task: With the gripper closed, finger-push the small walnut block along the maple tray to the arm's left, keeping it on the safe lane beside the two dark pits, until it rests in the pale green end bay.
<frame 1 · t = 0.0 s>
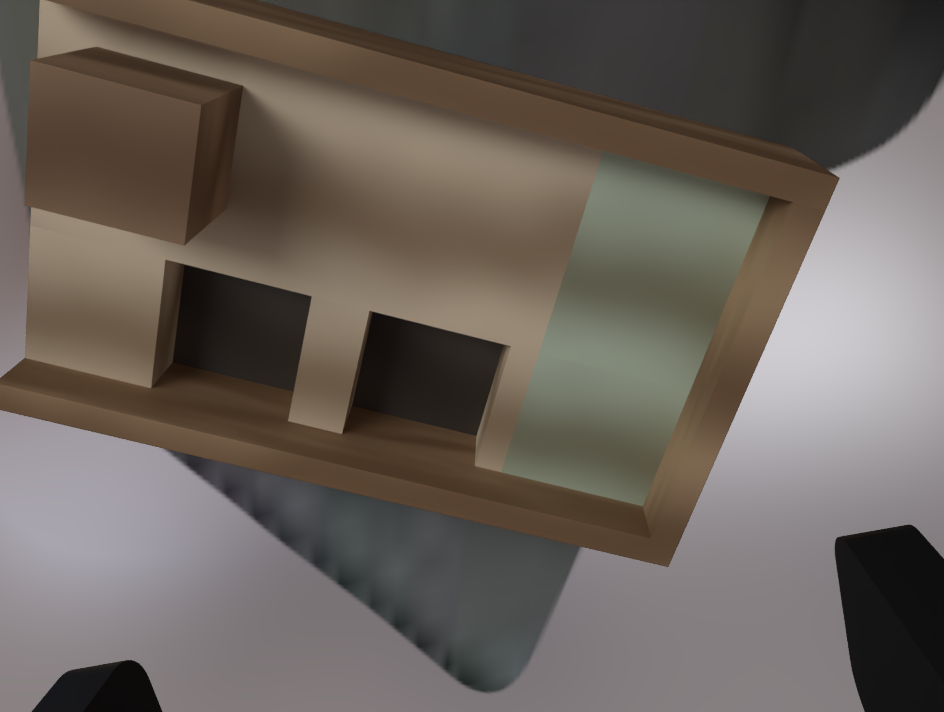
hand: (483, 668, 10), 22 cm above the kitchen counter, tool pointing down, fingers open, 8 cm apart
block: (163, 130, 27), point 2 cm above the kitchen counter, touching trap tray
trap tray: (399, 257, 31), on the kitchen counter
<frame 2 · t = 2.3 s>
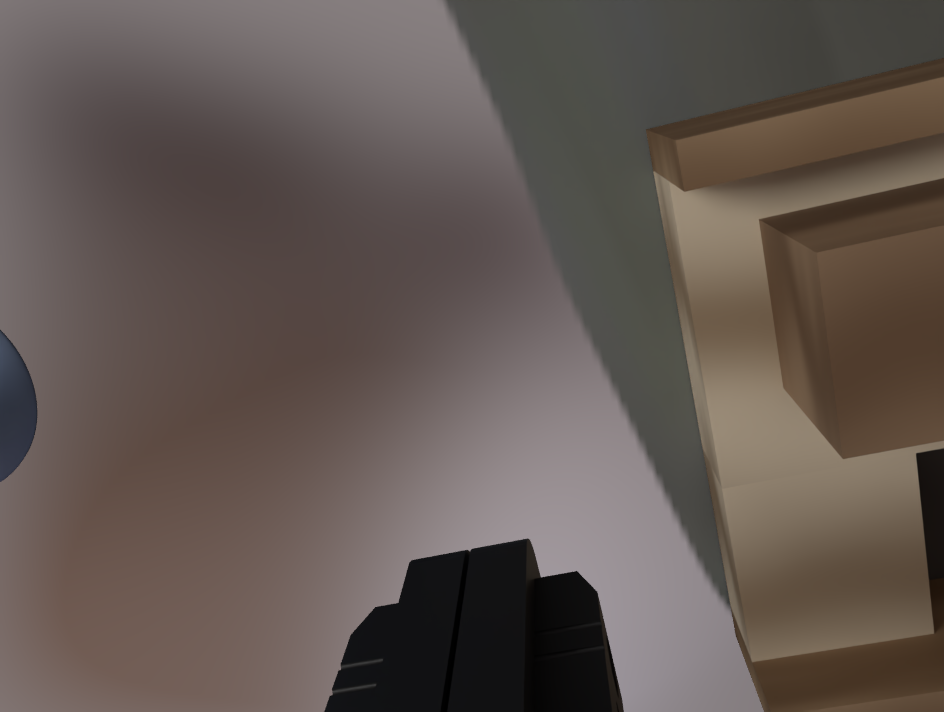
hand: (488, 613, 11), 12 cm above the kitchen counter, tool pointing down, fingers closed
block: (874, 284, 19), point 2 cm above the kitchen counter, touching trap tray
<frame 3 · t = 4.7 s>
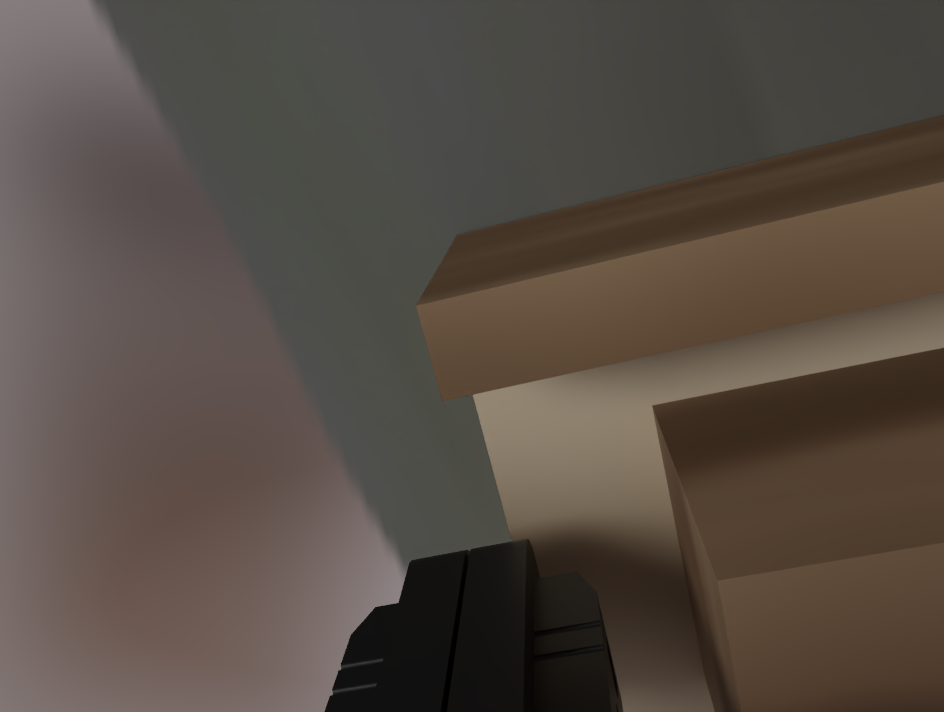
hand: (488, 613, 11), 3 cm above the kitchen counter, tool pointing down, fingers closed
block: (860, 517, 11), point 2 cm above the kitchen counter, touching gripper, trap tray
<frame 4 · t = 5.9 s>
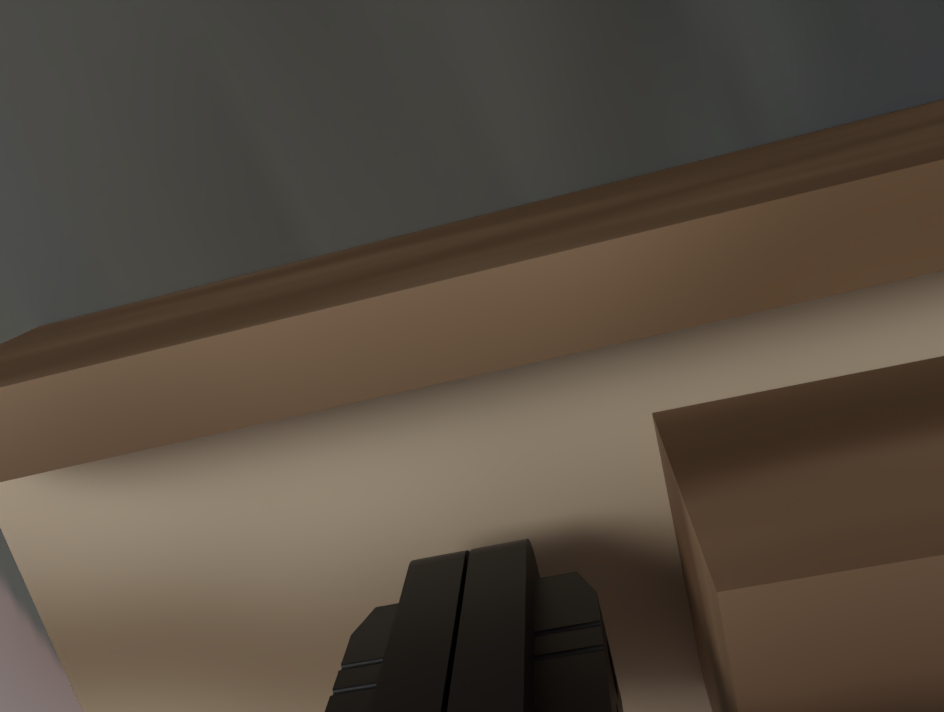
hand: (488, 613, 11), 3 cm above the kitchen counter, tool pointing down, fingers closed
block: (859, 524, 11), point 3 cm above the kitchen counter, touching gripper
trap tray: (884, 584, 14), on the kitchen counter
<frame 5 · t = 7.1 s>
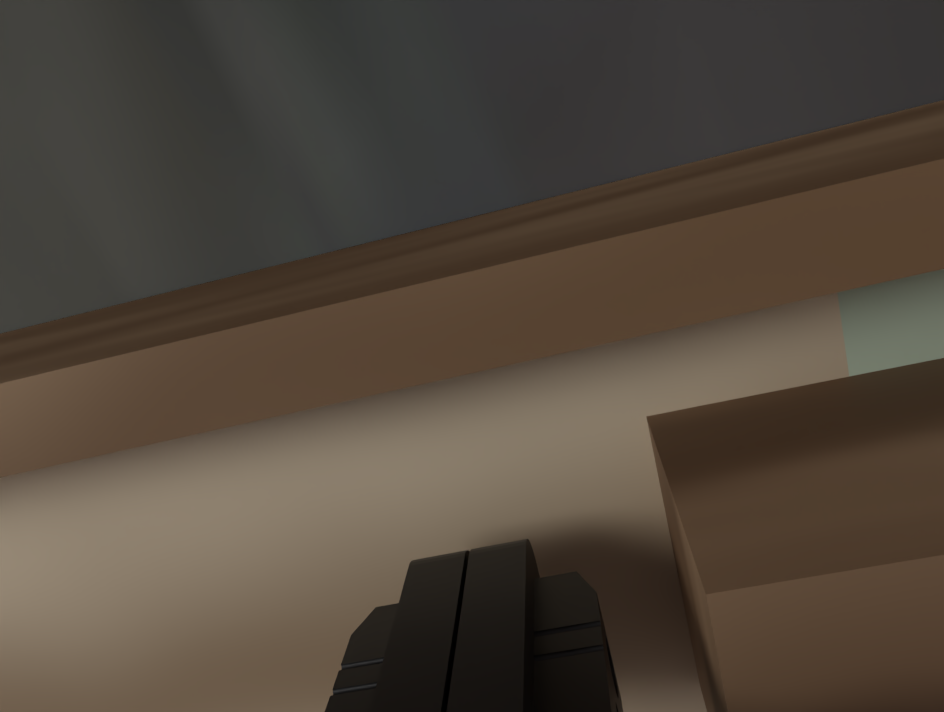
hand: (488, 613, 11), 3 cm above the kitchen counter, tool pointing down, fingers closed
block: (852, 526, 11), point 2 cm above the kitchen counter, touching gripper, trap tray
trap tray: (503, 649, 15), on the kitchen counter
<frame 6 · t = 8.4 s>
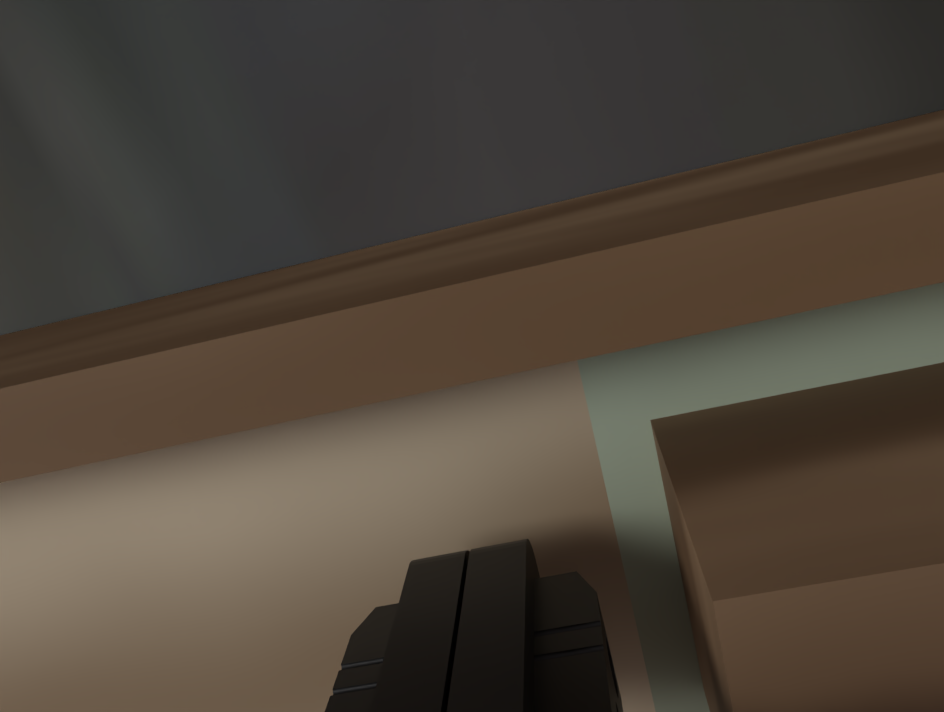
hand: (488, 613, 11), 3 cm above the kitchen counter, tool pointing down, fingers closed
block: (857, 530, 11), point 2 cm above the kitchen counter, touching gripper, trap tray
trap tray: (329, 684, 15), on the kitchen counter
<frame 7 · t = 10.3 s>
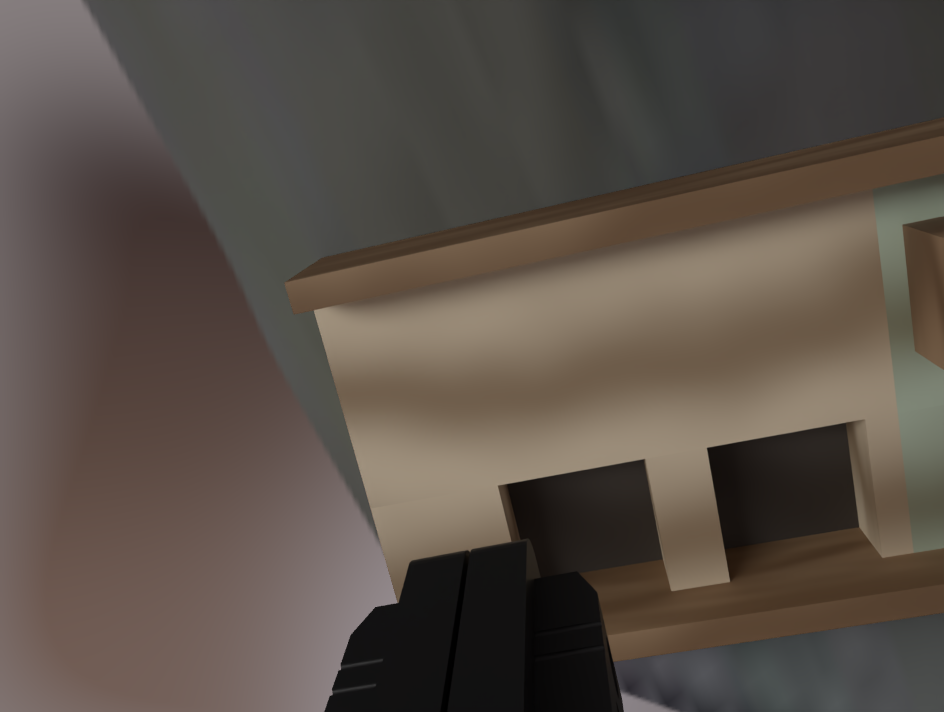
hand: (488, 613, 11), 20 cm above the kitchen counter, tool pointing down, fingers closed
trap tray: (702, 385, 30), on the kitchen counter
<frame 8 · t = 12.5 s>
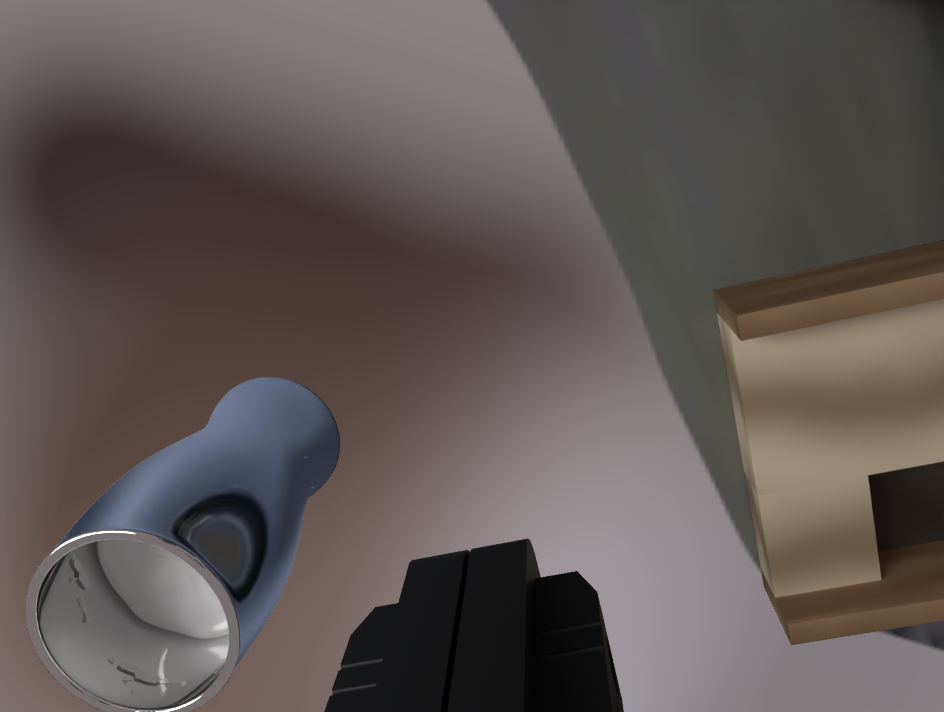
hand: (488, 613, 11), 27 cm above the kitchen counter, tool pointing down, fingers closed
blue flashlight: (277, 436, 40), on the kitchen counter
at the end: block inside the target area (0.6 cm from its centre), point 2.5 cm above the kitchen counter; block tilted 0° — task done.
